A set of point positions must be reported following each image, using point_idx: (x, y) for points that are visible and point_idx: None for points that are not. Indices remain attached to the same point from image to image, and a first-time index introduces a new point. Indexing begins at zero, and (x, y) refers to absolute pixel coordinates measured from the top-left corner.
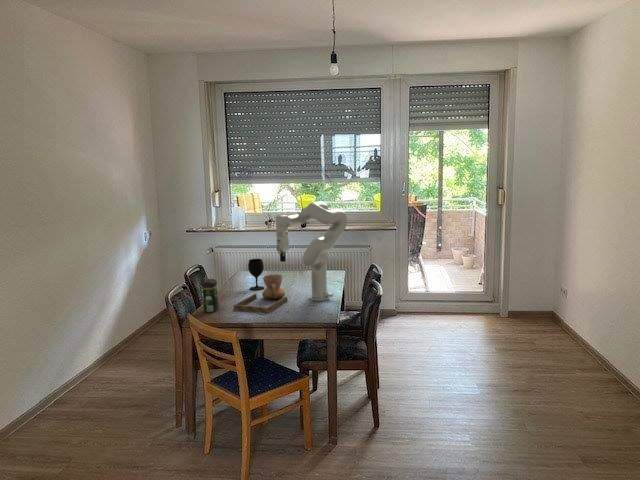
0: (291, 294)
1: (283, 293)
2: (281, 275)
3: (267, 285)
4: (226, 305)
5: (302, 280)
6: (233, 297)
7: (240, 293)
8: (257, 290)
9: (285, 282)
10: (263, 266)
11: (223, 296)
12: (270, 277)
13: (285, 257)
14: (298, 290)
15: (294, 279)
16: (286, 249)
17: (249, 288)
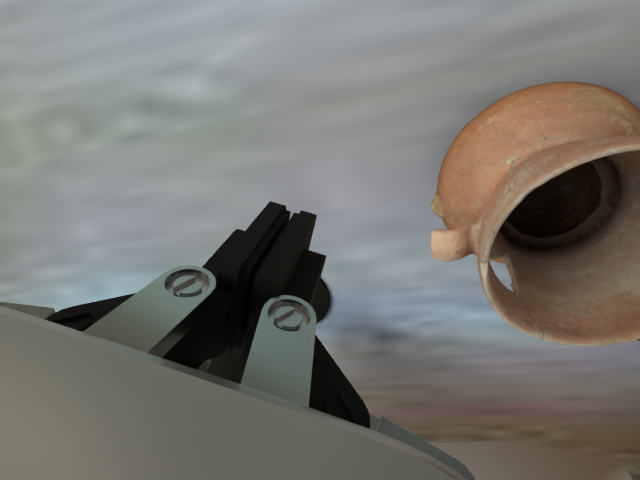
0: (432, 43)
1: (603, 89)
2: (580, 164)
3: (635, 262)
4: (625, 392)
5: (28, 45)
6: (461, 374)
7: (385, 353)
8: (327, 289)
9: (122, 162)
10: (222, 370)
11: (436, 406)
12: (489, 276)
13: (246, 235)
14: (302, 4)
15: (35, 114)
16: (108, 408)
17: None
